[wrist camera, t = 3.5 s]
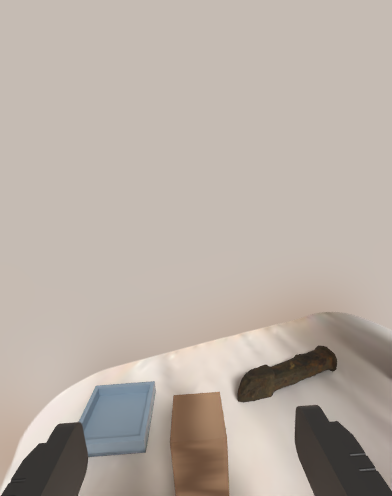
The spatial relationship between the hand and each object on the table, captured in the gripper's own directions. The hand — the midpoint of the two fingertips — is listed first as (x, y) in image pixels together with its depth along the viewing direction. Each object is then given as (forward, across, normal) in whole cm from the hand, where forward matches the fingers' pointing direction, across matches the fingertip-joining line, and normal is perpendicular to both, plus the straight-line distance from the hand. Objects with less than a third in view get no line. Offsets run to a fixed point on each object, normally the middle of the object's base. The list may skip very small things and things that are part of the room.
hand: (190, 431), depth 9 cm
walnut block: (+12, 0, +23) cm, 26 cm away
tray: (+22, +12, +23) cm, 34 cm away
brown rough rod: (+26, -15, +24) cm, 39 cm away
